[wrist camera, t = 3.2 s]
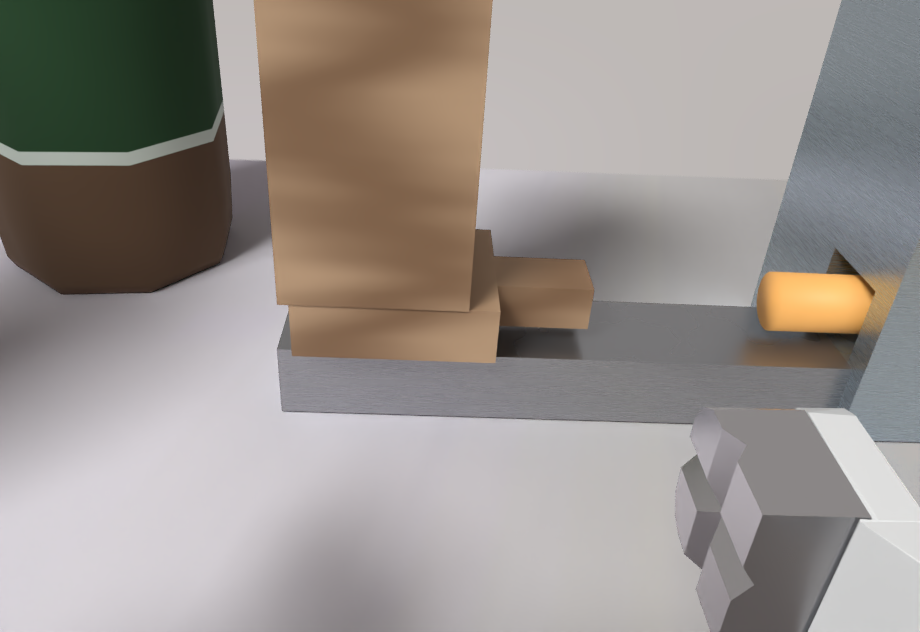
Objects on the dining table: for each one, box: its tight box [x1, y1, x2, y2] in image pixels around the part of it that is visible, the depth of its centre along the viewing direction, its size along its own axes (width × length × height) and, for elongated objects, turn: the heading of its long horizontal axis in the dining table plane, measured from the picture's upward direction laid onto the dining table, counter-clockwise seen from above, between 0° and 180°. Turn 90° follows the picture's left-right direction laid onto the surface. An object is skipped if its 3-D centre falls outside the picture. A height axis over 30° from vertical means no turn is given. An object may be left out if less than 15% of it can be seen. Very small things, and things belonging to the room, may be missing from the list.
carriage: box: [254, 0, 594, 363], centre depth 18 cm, size 8×4×12 cm, turn 91°
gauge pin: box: [757, 272, 875, 334], centre depth 22 cm, size 5×2×2 cm, turn 91°
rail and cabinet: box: [277, 0, 920, 442], centre depth 21 cm, size 18×7×13 cm, turn 91°
